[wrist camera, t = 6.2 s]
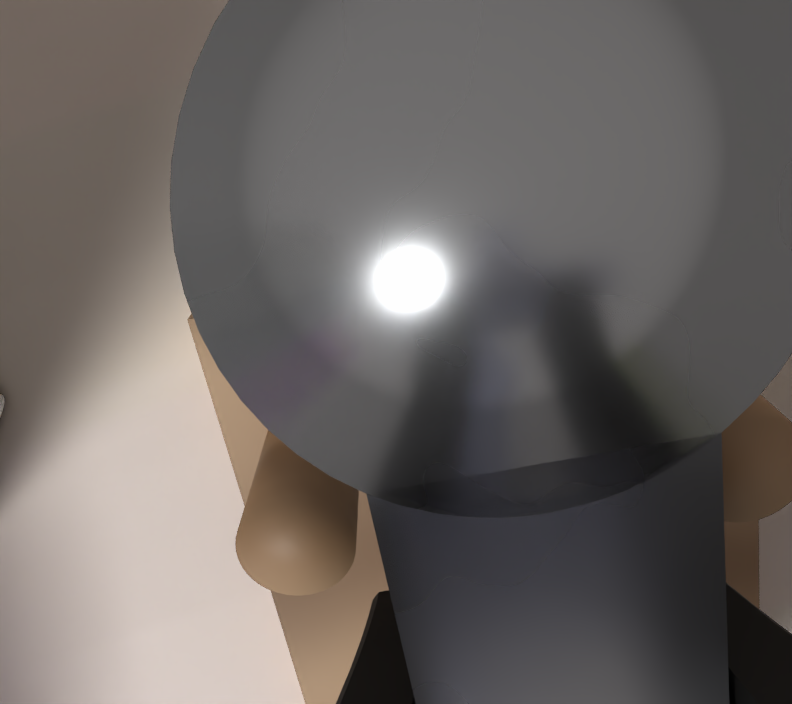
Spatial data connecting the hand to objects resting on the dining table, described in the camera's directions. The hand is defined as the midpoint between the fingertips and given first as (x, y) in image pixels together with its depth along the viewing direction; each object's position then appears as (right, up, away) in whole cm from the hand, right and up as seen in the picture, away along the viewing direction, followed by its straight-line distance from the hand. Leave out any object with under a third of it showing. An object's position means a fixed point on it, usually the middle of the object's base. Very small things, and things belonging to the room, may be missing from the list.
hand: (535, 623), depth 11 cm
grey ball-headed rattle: (0, +1, +2) cm, 2 cm away
